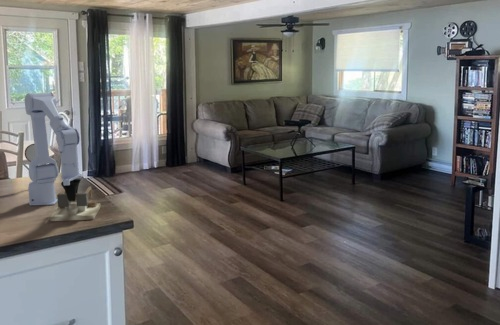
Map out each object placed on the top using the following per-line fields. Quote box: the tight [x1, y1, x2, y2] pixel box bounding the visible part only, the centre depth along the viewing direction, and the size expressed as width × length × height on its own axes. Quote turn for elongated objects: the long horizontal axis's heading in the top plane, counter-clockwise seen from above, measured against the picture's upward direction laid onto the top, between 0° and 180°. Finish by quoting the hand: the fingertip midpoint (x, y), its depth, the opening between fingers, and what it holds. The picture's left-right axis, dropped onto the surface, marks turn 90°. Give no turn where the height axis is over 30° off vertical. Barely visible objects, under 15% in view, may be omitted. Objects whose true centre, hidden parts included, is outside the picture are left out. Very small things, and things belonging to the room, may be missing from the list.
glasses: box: [56, 186, 93, 208], centre depth 176 cm, size 10×11×4 cm
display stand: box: [49, 195, 101, 222], centre depth 177 cm, size 15×15×6 cm
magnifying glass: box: [24, 143, 38, 166], centre depth 213 cm, size 9×2×20 cm, turn 126°
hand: (72, 199), depth 172 cm, fingers closed on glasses, 2 cm apart
